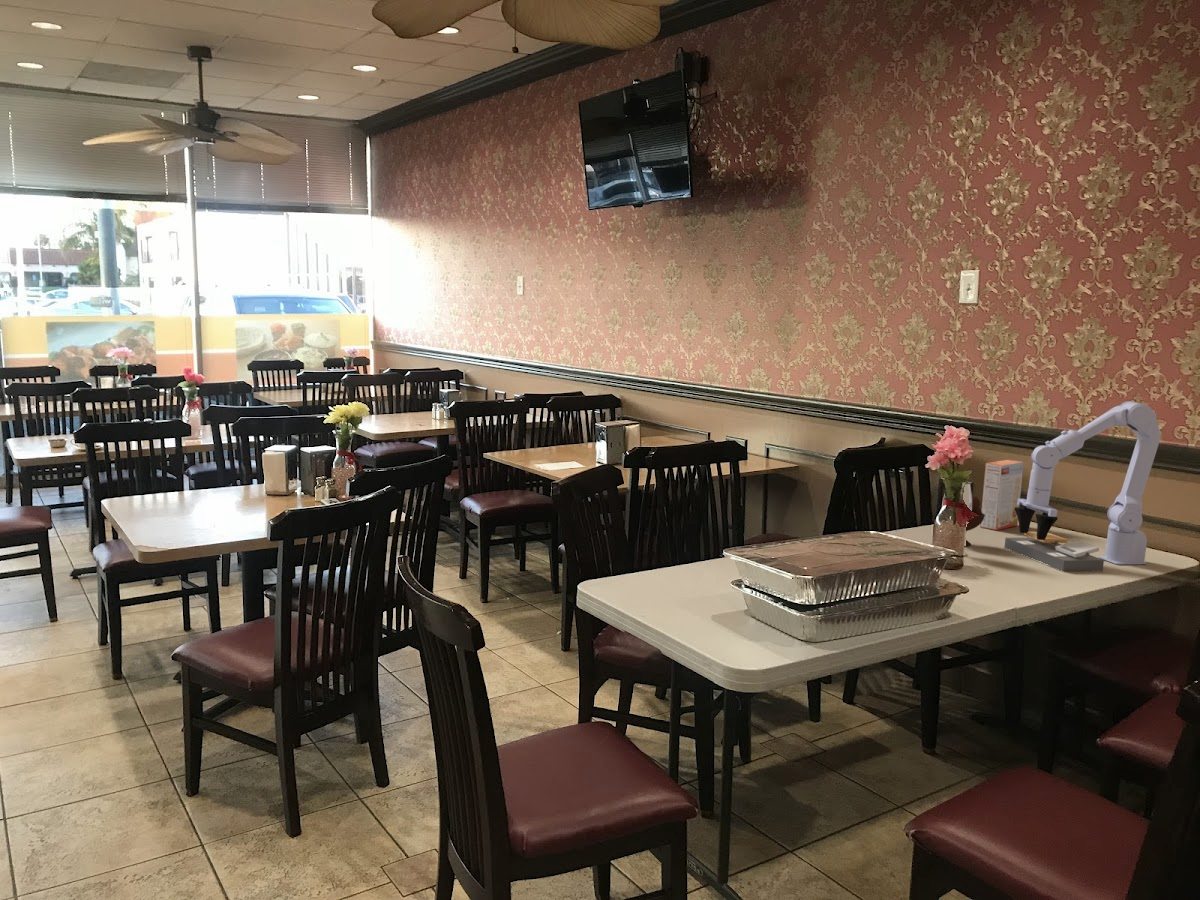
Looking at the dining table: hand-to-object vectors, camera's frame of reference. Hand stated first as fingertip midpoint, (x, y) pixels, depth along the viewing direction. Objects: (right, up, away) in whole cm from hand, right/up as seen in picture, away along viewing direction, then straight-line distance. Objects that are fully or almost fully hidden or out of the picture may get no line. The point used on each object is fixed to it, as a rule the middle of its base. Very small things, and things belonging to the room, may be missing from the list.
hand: (1031, 536), depth 268 cm
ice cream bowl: (-17, -3, +8) cm, 19 cm away
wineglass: (-24, -5, -3) cm, 24 cm away
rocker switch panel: (+5, -6, -4) cm, 9 cm away
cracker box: (+5, 0, +35) cm, 36 cm away
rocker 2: (+7, -3, -12) cm, 14 cm away
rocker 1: (+4, -1, +1) cm, 4 cm away
